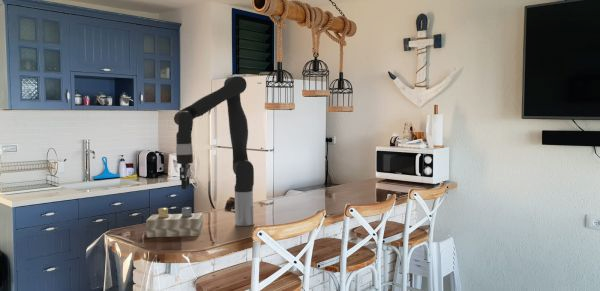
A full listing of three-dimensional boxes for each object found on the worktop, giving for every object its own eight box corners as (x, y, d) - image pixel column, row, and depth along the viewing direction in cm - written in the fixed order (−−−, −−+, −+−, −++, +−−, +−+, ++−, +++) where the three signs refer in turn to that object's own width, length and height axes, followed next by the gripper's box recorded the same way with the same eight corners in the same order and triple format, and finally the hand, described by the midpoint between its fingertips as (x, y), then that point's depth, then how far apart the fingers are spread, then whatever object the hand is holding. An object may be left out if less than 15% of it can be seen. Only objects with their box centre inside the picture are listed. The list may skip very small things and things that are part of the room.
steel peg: (192, 221, 231) (191, 207, 230) (190, 223, 226) (190, 208, 226) (183, 221, 230) (182, 207, 230) (181, 223, 226) (180, 209, 225)
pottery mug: (221, 209, 283) (225, 197, 286) (235, 215, 287) (239, 202, 290) (228, 208, 273) (232, 194, 276) (242, 214, 276) (247, 200, 279)
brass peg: (169, 222, 230) (168, 207, 229) (167, 224, 226) (166, 209, 225) (159, 222, 230) (159, 207, 229) (157, 224, 225) (157, 209, 225)
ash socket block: (202, 229, 235) (202, 213, 234) (199, 235, 223) (198, 218, 222) (153, 230, 234) (152, 214, 233) (146, 237, 222) (146, 220, 221)
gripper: (189, 154, 219) (191, 189, 220) (195, 151, 233) (196, 184, 235) (173, 154, 219) (174, 190, 220) (179, 152, 233) (180, 185, 234)
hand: (185, 187), depth 227 cm, fingers open, 7 cm apart
